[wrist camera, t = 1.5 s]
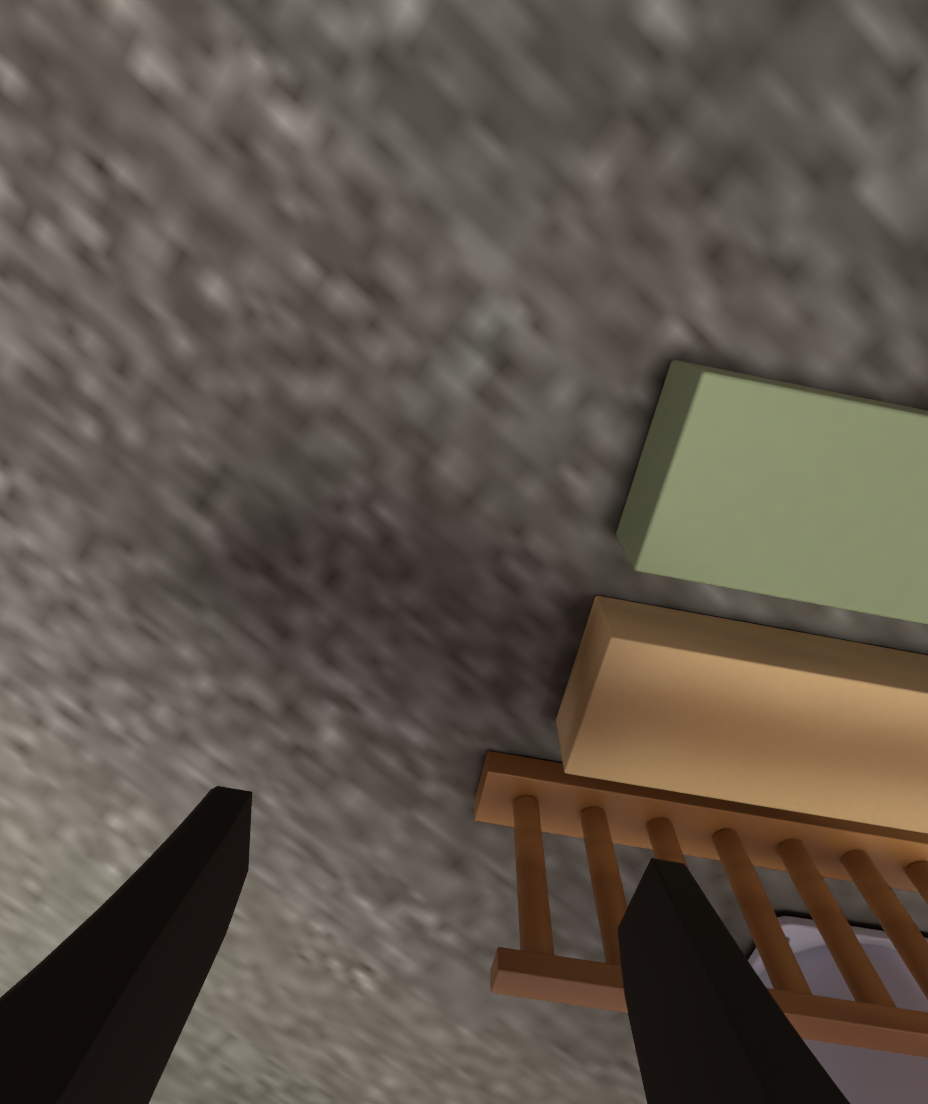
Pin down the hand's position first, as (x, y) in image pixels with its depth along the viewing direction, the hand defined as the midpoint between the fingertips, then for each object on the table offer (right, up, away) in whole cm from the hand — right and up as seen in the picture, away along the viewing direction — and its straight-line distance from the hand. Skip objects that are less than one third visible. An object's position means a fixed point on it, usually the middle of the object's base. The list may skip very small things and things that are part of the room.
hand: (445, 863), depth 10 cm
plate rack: (+11, -4, +11) cm, 16 cm away
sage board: (+12, +7, +6) cm, 15 cm away
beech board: (+11, +1, +9) cm, 14 cm away
